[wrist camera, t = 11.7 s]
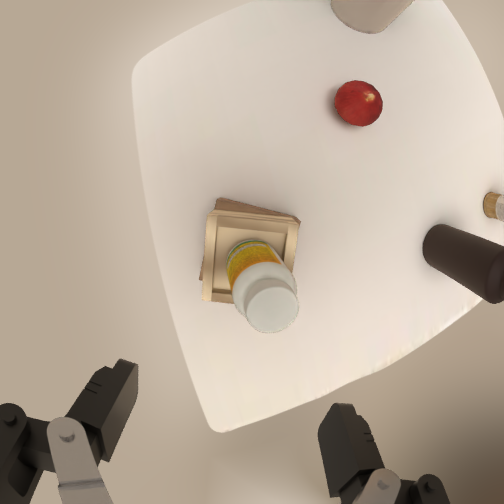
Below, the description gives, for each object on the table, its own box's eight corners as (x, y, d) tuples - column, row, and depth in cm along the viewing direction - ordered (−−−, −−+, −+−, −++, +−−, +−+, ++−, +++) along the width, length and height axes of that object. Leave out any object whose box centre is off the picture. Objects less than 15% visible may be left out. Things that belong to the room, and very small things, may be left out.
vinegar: (433, 216, 36) (532, 250, 17) (459, 235, 37) (549, 275, 17) (415, 255, 38) (505, 312, 18) (441, 272, 38) (524, 328, 19)
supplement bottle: (286, 258, 30) (322, 303, 21) (253, 295, 31) (274, 351, 22) (248, 226, 28) (272, 263, 19) (214, 266, 29) (222, 319, 20)
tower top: (214, 209, 32) (206, 215, 27) (291, 217, 33) (299, 225, 28) (208, 282, 35) (201, 300, 30) (281, 290, 35) (286, 308, 30)
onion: (348, 81, 31) (370, 62, 24) (376, 113, 32) (404, 101, 25) (319, 105, 32) (336, 88, 25) (349, 138, 33) (373, 130, 26)
